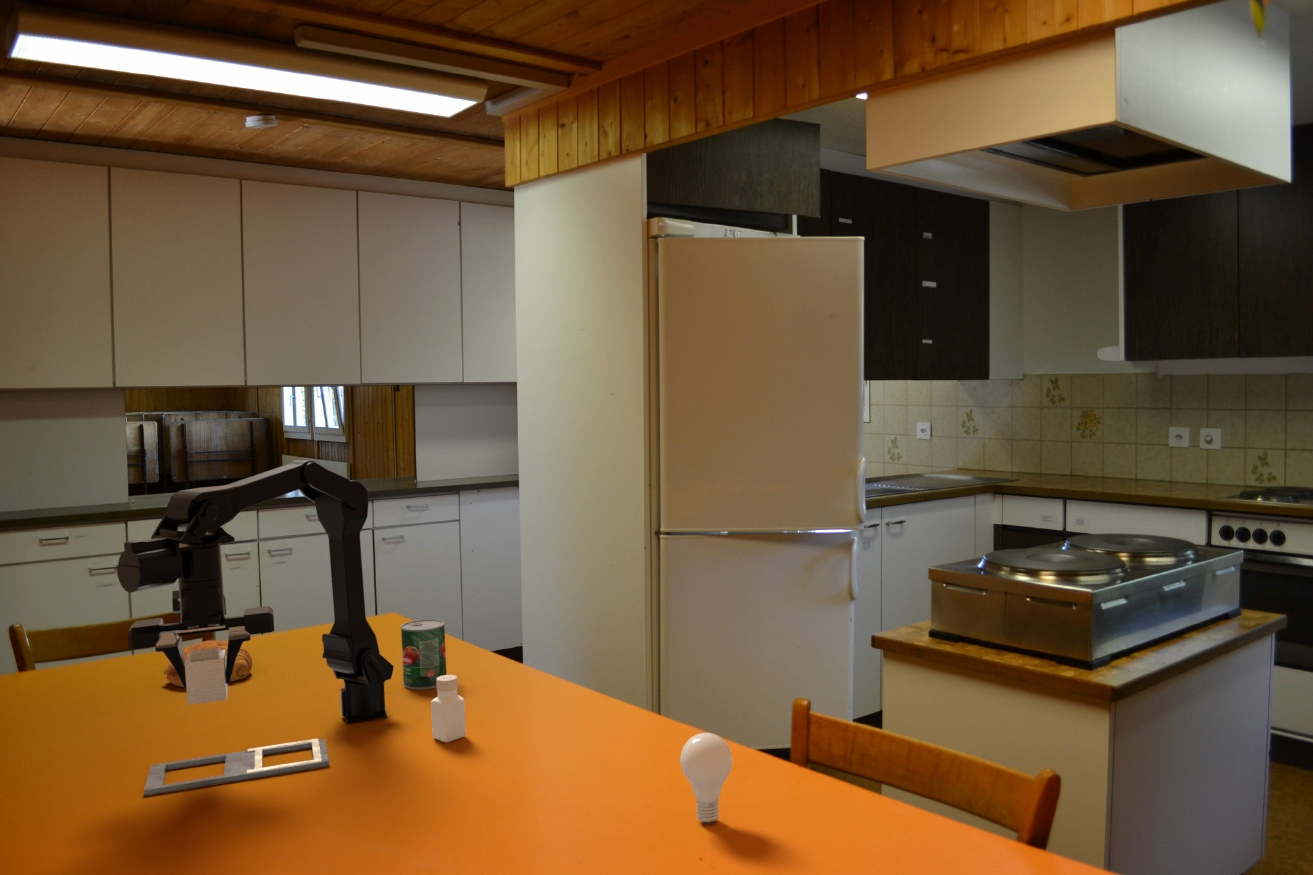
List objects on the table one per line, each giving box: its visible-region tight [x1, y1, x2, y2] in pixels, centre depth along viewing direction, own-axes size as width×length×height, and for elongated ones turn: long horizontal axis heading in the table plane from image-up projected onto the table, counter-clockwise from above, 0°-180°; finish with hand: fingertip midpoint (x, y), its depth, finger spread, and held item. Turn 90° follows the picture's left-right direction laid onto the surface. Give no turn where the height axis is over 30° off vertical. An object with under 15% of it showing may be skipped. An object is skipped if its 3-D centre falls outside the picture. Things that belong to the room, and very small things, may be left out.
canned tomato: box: [400, 619, 448, 690], centre depth 182 cm, size 8×8×11 cm
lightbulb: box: [679, 732, 733, 824], centre depth 121 cm, size 6×6×11 cm
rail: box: [143, 738, 330, 797], centre depth 143 cm, size 24×10×1 cm, turn 112°
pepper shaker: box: [430, 674, 467, 743], centre depth 153 cm, size 4×4×10 cm
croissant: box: [163, 639, 253, 688], centre depth 190 cm, size 14×16×8 cm
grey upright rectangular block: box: [185, 647, 229, 706], centre depth 141 cm, size 5×5×7 cm
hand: (207, 685), depth 141 cm, fingers closed on grey upright rectangular block, 5 cm apart
